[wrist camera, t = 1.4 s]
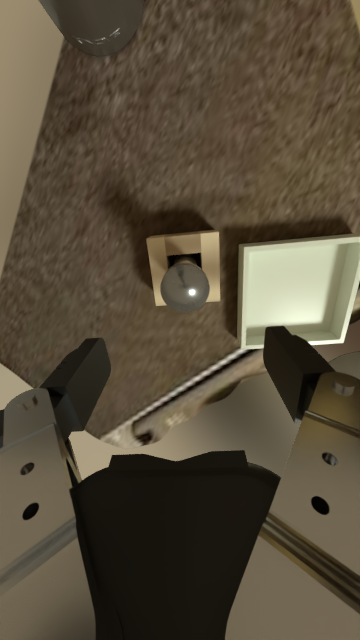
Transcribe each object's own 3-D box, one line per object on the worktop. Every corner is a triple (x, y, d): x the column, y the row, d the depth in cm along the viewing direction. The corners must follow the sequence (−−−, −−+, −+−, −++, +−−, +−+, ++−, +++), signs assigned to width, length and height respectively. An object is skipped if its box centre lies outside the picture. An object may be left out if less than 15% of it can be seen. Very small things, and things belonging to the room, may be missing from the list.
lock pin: (166, 249, 29) (157, 267, 19) (200, 245, 29) (208, 262, 19) (170, 282, 31) (163, 314, 21) (202, 279, 31) (210, 310, 21)
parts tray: (238, 244, 29) (244, 247, 26) (352, 233, 28) (370, 235, 25) (236, 338, 34) (241, 349, 32) (330, 332, 34) (343, 342, 31)
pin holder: (151, 235, 28) (146, 238, 25) (214, 229, 28) (218, 231, 24) (159, 295, 32) (156, 305, 28) (216, 290, 31) (220, 300, 28)
